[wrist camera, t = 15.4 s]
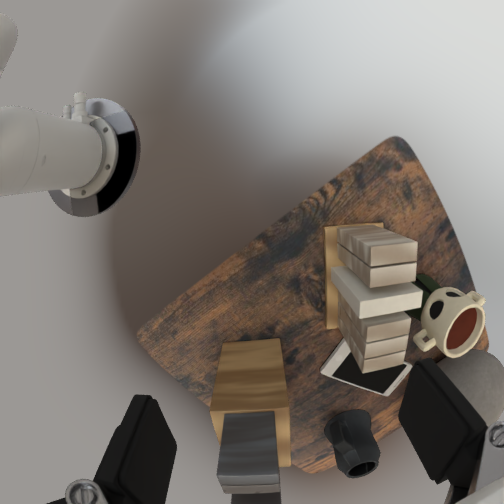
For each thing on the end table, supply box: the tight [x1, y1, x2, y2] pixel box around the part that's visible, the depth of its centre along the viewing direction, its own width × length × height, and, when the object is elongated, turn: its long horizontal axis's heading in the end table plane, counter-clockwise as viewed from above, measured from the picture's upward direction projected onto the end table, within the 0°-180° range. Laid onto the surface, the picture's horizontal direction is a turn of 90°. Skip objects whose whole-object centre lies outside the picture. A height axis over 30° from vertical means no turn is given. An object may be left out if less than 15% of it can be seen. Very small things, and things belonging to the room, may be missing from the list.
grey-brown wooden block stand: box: [323, 222, 417, 373], centre depth 30 cm, size 14×8×12 cm, turn 6°
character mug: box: [406, 274, 486, 358], centre depth 30 cm, size 11×7×13 cm, turn 122°
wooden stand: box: [209, 338, 291, 504], centre depth 29 cm, size 12×8×22 cm, turn 6°
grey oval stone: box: [437, 349, 504, 427], centre depth 31 cm, size 18×7×19 cm, turn 131°
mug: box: [324, 409, 380, 478], centre depth 37 cm, size 12×9×11 cm
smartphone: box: [320, 338, 413, 396], centre depth 39 cm, size 7×16×1 cm, turn 62°
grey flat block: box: [331, 266, 423, 319], centre depth 29 cm, size 2×7×11 cm, turn 96°
